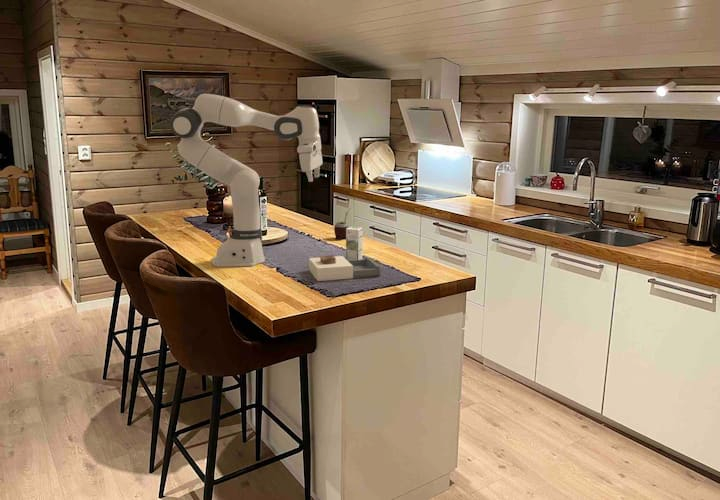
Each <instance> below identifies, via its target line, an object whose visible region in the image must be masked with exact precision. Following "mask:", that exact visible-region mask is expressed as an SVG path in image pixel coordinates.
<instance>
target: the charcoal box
mask: <svg viewBox="0 0 720 500" xmlns="http://www.w3.org/2000/svg"><path fill="white" fill-rule="evenodd" d="M347 261H348V262H349V263H350V264H352V265H353V278H352V279H359V278H361V279H363V278H362V277H364V278H372V277H371V276H377V277H380V276H381V275H380V273H381V272H380V271H381V267H380V265H379V264H378V263H376V262H375V261H373V260H372V259H371V258H370V257H369V256H365V257H364V258H362V259H360V260H347Z"/></svg>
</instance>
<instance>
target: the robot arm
mask: <svg viewBox="0 0 720 500" xmlns="http://www.w3.org/2000/svg"><path fill="white" fill-rule="evenodd" d="M206 123H213V124H217V125H221V126H226V127H233V128H234V127H235V128H236V127H244V126H253V127H255V126H256V127H259V128H263V129H267V130H270V131H274V134H275V135H276V136H277V138H279V139H281V140H283V141H291V140H292V139H295V138H298V146H297V148H296V151H297V153H298V157H299V158H298V159H299V163H300V168H301V171H302V172H303V173H304V172H305V173H306V176H307V179H308V182H309V183H310V182H311V183H313V181H314V178H315V179H318V178H319V177H320V167H321V166H323V154H322V140H321V134H320V121H319V115H318V112H317V109H316V108H315V107H313V106H311V105H297V106H296V107H295V108H294V109H293V110H292V111H290V112H288V113H285V114H281V115H278V114H277V115H276V114H273V113H268V112H265V111H261V110H257V109H254V108H252V107H250V106H248V105H247V104H245V103H242V102H240V101H238V100H236V99H233V98H232V97H231V98H230V97H229V96H228V97H227V96H223V95H218V94H213V93H201V94H199V95H198V96H197V97H196V99H195V101H194V104H193V107H186V108H181V109H180V110H178V111H177V112H175V113H174V114H173V115H172V116H171V118H170V122H169V126H170V130H171V131H172V133H173V134H174V135H175V136H176V137H178V138H180V141H179V143H178V147H177V151H178V154H179V155H180V156H181V157H182V158H183V159H184V160H185V161H187V162H188V163H189V164H191V165H192V166H193V167H195V168H196V169H198V170H199V171H201V172H202V173H203V174H206V175H207V176H209V177H211V178H212V179H214V180H217V181H219V182H221V183H223V184H225V185H227V186H229V187H230V196H231V205H232V211H233V212H232V214H233V228H231V227H230V228H227V234H228V235H229V238H228V239H226V240H225V241H223V243H221V244H220V245H219V246H218V248H217V250H216V254H215V255H216V256H214V257H212V258H211V265H212V266H214V267H219V268H221V267H222V268H225V267H226V268H228V267H253V266H256V265H257V264H258V265H259V264H261V263H264V262H265V261H266V257H265V255H264V250H263V244H262V243H263V242H262V241H263V232H262V231H263V230H262V227H261V209H260V208H261V207H260V198H259V187H260V183H261V182H260V181H261V180H260V179H261V178H260V176H259V174H258V172H256V171H255V170H254V169H252V168H251V167H249V166H247V165H246V164H244V163H242V162H240V161H239V160H237V159H235V158H233V157H231V156H229V155H227V154H226V153H224V152H223V151H221V150H220V149H218V148H216V147H215V146H213V145H211V144H210V143H208V142H207V141H206V140H205V139H203V138H202V136H203V132H204V127H205V124H206ZM313 170H314V171H313ZM313 172H314V176H313Z"/></svg>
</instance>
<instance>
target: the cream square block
mask: <svg viewBox="0 0 720 500" xmlns="http://www.w3.org/2000/svg"><path fill="white" fill-rule="evenodd" d="M334 257H335V258H336V263H332V264H323V263H322V262H321V261H320V257H308V271H309V272H310V273H311V275H312V276H313V277H314V279H315V280H316V281H317V282H322V281H324V282H325V281H335V280H336V281H337V280H349V279H354V278H353V265H352V264H350V263H349V262H348V261H347V260H346V257H344V256H343V255H338V256H337V255H336V256H335V255H334Z"/></svg>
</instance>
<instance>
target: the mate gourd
mask: <svg viewBox="0 0 720 500" xmlns="http://www.w3.org/2000/svg"><path fill="white" fill-rule="evenodd" d="M350 210H351V208H348V210H347V212H346V213H345V217H344V220H343V222H342V221H340V222H339V221H338V222H336V223H335V224H334V227H333V230H334V231H333V232H334V235H335V238H334V239H335V240H339V241H342V240H346V229H347V228H348V227H349V225H348V223H347V222H346V220H347V216H348V213H349V212H350Z"/></svg>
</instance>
